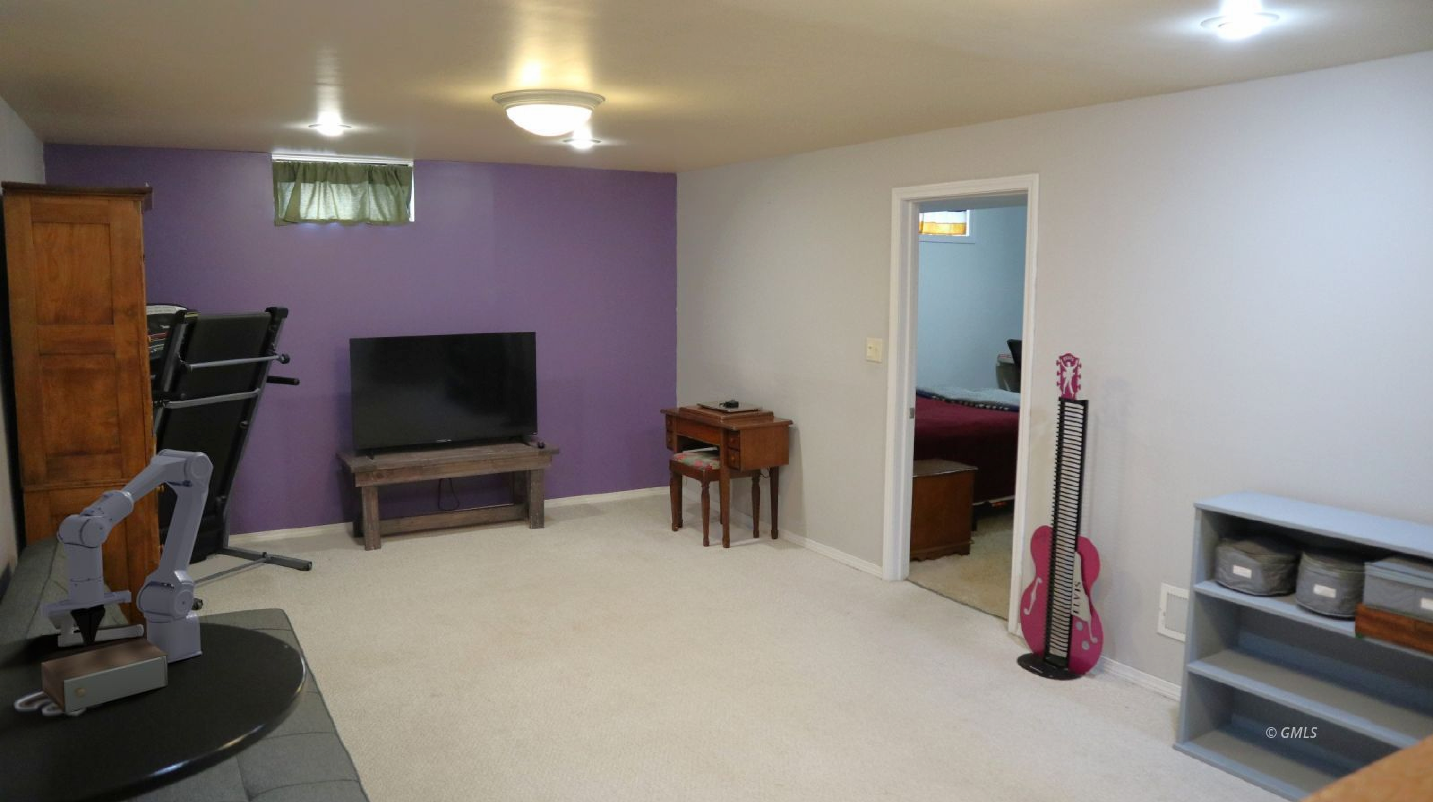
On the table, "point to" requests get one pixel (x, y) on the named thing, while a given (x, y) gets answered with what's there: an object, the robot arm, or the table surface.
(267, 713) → the table surface
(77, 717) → the table surface
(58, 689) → the walnut cabinet
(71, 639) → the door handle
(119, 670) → the cabinet door
